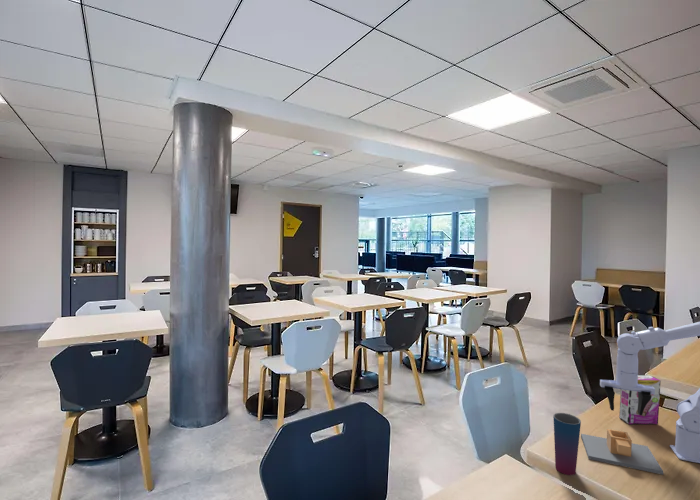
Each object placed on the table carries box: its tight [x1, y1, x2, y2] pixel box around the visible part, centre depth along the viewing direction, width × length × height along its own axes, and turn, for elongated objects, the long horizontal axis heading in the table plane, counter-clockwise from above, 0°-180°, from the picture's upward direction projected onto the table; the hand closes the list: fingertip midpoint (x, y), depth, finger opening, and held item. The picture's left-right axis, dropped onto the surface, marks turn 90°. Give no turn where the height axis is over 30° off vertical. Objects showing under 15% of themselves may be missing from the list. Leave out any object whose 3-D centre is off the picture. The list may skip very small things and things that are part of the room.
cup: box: [553, 412, 582, 476], centre depth 107 cm, size 7×7×15 cm
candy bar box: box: [618, 374, 662, 425], centre depth 136 cm, size 11×5×16 cm, turn 92°
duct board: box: [580, 433, 664, 475], centre depth 116 cm, size 18×14×4 cm
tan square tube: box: [606, 428, 633, 457], centre depth 114 cm, size 9×5×5 cm, turn 156°
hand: (625, 411), depth 124 cm, fingers open, 7 cm apart
